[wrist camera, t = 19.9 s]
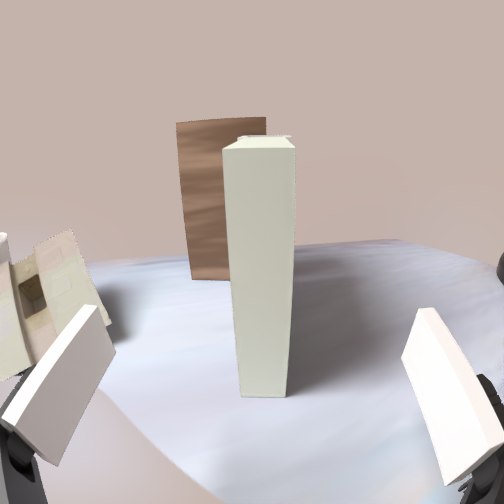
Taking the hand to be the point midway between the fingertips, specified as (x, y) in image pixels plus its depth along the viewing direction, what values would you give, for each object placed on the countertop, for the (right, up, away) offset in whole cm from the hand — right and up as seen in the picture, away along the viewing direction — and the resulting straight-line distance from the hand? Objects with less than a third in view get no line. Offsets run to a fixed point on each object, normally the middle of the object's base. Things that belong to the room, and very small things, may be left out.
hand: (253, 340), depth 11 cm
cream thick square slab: (+1, -4, +18) cm, 18 cm away
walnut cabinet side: (-3, -1, +25) cm, 26 cm away
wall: (-24, -6, +16) cm, 30 cm away
